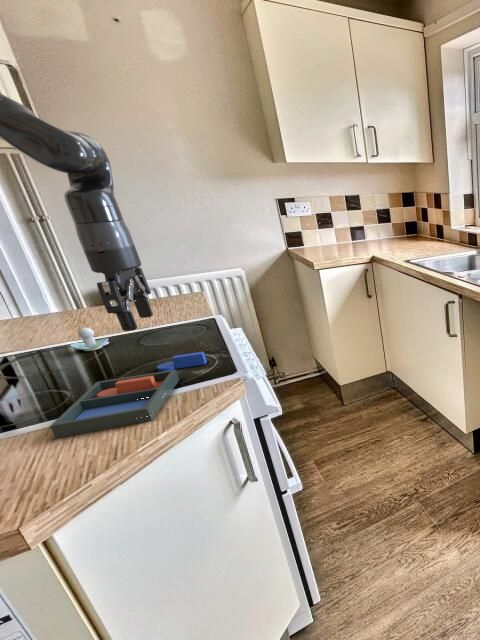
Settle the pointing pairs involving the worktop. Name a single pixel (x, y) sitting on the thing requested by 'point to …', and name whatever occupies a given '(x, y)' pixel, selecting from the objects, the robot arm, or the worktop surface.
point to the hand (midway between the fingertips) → (139, 323)
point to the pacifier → (89, 340)
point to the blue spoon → (183, 361)
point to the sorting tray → (114, 406)
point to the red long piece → (130, 386)
